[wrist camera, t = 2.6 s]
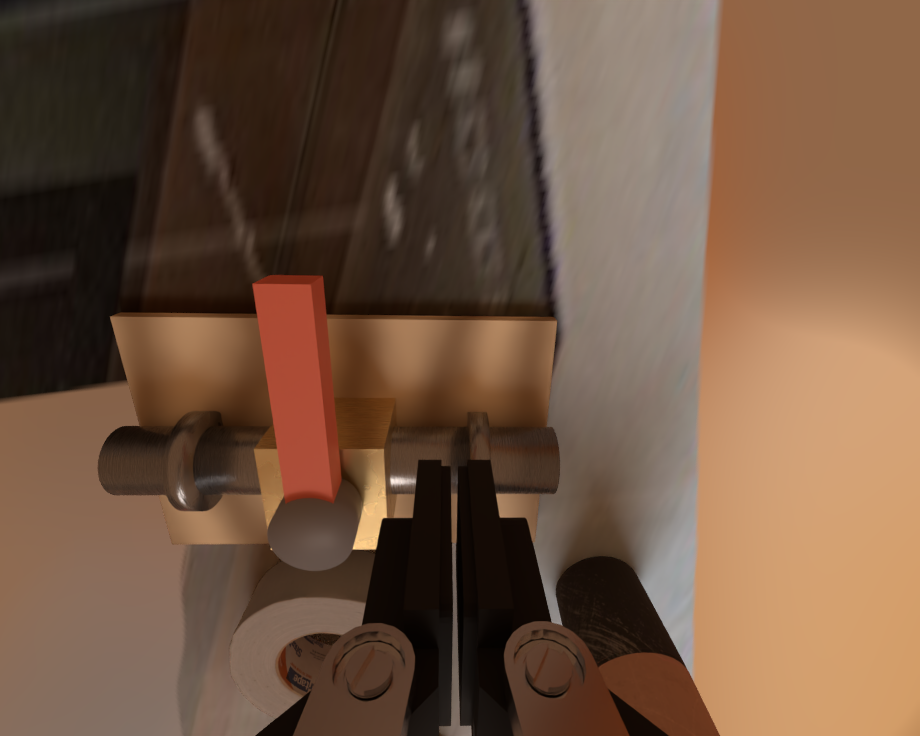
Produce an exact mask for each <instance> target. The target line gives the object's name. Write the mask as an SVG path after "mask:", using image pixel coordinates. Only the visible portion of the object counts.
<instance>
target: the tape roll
mask: <svg viewBox="0 0 920 736" xmlns="http://www.w3.org/2000/svg"><path fill="white" fill-rule="evenodd" d="M374 558H375V554H374V553H371V552H367V551H363V550H352V552H351V553H350V555H349V556H348V558H347V559H346V560H345V561H344V562H342V563H341V564H339V565H338V566H336V567H333V568H331V569H327V570H322V571H308V570H302V569H298V568H295V567H293V566H291V565H289V564H287V563H285V562H284V561H281V562H279V563H278V564H276V565H275V566H273V567H272V568H271V569H270V570H269V571H268V572H267V573H266V574H265V575H264V576H263V577H262V579H261V580H260V582H259V583H258V585H257V587H256V589H255V591H254V593H253V595H252V597H251V599H250V601H249V603H248V606H247V608H246V610H245V612H244V614H243V616H242V618H241V620H240V622H239V624H238V626H237V628H236V630H235V632H234V634H233V638H232V640H231V643H230V648H229V650H230V674H231V677H232V678H233V679H234V682H235V684H236V685H237V687H238V688H239V690H240V692H241V693H242V694H243V695H244V696H245V697H246V698H247V699H248V700H249V701H250V702H251V703H252V704H253V705H254V706H256V707H257V708H258V709H259V710H261V711H262V712H264V713H266V714H268V715H270V716H272V717H274V718H278V717H279V716H280V715H281V714H283V713H284V712H285V711H286V710H287V709H289V708H290V707H291V706H292V705H294V704H295V703H296V702H297V701H298V700H300V699H301V698H302V697H303V696H305V695H306V694H307V693H308V692H309V691H311V690H312V688H313V686H314V683H315V681H316V678H317V676H318V673H319V671H320V668H321V666H322V664H323V661H324V659H325V657H326V655H327V653H328V652H329V650H330V648H331V645H327V644H324V643H322V642H319V641H317V640H316V639H314V638H312V637H311V636H310V635H311V634H318V633H329V634H337V635H343V634H345V633H347V632H348V631H350V630H352V629H353V628H355V627H358V626H362V621H363V615H364V610H365V605H366V600H367V594H368V589H369V584H370V579H371V573H372V568H373V563H374Z"/></svg>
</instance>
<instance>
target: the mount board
mask: <svg viewBox="0 0 920 736" xmlns="http://www.w3.org/2000/svg"><path fill="white" fill-rule="evenodd" d="M110 318H111V322H112V326H113V329H114V333H115V337H116V340H117V344H118V348H119V351H120V355H121V359H122V362H123V366H124V370H125V373H126V377H127V381H128V384H129V388H130V392H131V395H132V399H133V403H134V406H135V410H136V414H137V417H138V421H139V425H140V426H175V425H176V423H177V422H178V421H179V420H180V419H181V417H182V416H184V415H185V414H187V413H189V412H191V411H217V412H220V413H221V418H222V423H223V426H271V425H272V423H273V417H272V411H271V404H270V397H269V391H268V384H267V377H266V371H265V364H264V357H263V351H262V344H261V337H260V331H259V324H258V317H257V314H219V313H122V312H121V313H118V314H115V315H113V316H110ZM327 326H328V337H329V348H330V359H331V370H332V381H333V391H334V398H396V417H397V427H467V413H468V412H487V415H488V420H489V427H547V417H548V407H549V397H550V387H551V377H552V367H553V357H554V347H555V337H556V327H557V320H556V319H555V318H554V317H509V316H412V315H327ZM496 497H497V503H498V510H499V516H500V518H517V517H525V518H526V519H527V522H528V525H529V529H530V533H531V538H532V542H535V536H536V526H537V516H538V506H539V497H540V494H496ZM159 498H160V502H161V505H162V509H163V513H164V516H165V520H166V523H167V527H168V531H169V535H170V538H171V542H172V544H269V542H268V538H267V530H268V529H267V523H266V517H265V512H264V506H263V500H262V495H223V496H222V498H221V499H220V501H219V502H218V503H217V504H216V505H215V506H214V507H213V508H212V509H210V510H208V511H179V510H177V509H175V508H174V507H173V506H172V505H171V504H170V502H169V500H168V498H167V496H166V495H159ZM414 498H415V494H397V500H396V506H395V512H394V518H413V508H414ZM451 516H452V543H456V538H457V494H451Z"/></svg>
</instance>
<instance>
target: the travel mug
mask: <svg viewBox="0 0 920 736" xmlns="http://www.w3.org/2000/svg"><path fill="white" fill-rule="evenodd" d="M556 597H557V603H558V607H559V612H560V616H561V621H562V625H563V626H564V627H565V628H567V629H569V630H571V631H572V632H574V633H575V634H576V635H577V636H578V637H579V638H580V639H581V640H582V641H583V642H584V643H585V644H586V646H587V647H588V649H589V651H590V652H591V654H592V656H593V658H594V660H595V662H596V664H597V666H598V669H599V671H600V673H601V675H602V677H603V679H604V682H605V684H606V686H607V688H608V689H609V690H610V691H612V692H613V693H614V694H616V695H617V696H618V697H619V698H621V699H622V700H623V701H625V702H626V703H627V704H629V705H630V706H631V707H632V708H634V709H635V710H636V711H638V712H639V713H640V714H641V715H643V716H644V717H645V718H647V719H648V720H649V721H651V722H652V723H653V724H654V725H656V726H657V727H658V728H660V729H661V730H662V731H664V732H665V733H666V734H667V735H669V736H720V735H719V733H718V731H717V729H716V727H715V725H714V723H713V721H712V719H711V716H710V714H709V712H708V710H707V708H706V706H705V704H704V702H703V700H702V698H701V696H700V694H699V692H698V690H697V688H696V686H695V684H694V682H693V680H692V678H691V676H690V674H689V672H688V670H687V668H686V666H685V664H684V662H683V660H682V658H681V657H680V655H679V653H678V651H677V649H676V647H675V645H674V643H673V642H672V640H671V638H670V636H669V634H668V632H667V630H666V629H665V627H664V625H663V623H662V621H661V619H660V617H659V616H658V614H657V612H656V610H655V608H654V606H653V604H652V602H651V601H650V599H649V597H648V595H647V593H646V591H645V589H644V588H643V586H642V584H641V582H640V580H639V579H638V577H637V575H636V574H635V572H634V571H633V569H632V568H631V567H630V566H629V565H627V564H626V563H625V562H623V561H621V560H618V559H615V558H611V557H594V558H589V559H585V560H583V561H580V562H578V563H576V564H574V565H573V566H571V567H570V568H569V569H567V570H566V571H565V572H564V574H563V575H562V576H561V578H560V579H559V581H558V584H557V588H556Z"/></svg>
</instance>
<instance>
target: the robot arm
mask: <svg viewBox="0 0 920 736" xmlns="http://www.w3.org/2000/svg"><path fill="white" fill-rule="evenodd" d="M456 582H457V622H458V661H459V701H460V726H471V729H472V736H669V735H667V734H666V733H665V732H664V731H662V730H661V729H660V728H658V727H657V726H656V725H654V724H653V723H652V722H651V721H649V720H648V719H647V718H645V717H644V716H643V715H641V714H640V713H639V712H638V711H636V710H635V709H634V708H632V707H631V706H630V705H629V704H627V703H626V702H625V701H623V700H622V699H621V698H619V697H618V696H617V695H616V694H614V693H613V692H612V691H610V690H609V689H608V688H607V686H606V684H605V682H604V679H603V677H602V675H601V673H600V671H599V669H598V666H597V664H596V662H595V660H594V658H593V656H592V654H591V652H590V651H589V649H588V647H587V646H586V644H585V643H584V642H583V641H582V640H581V639H580V638H579V637H578V636H577V635H576V634H575V633H574V632H572V631H571V630H569V629H567V628H565V627H564V626H562V625H559V624H555V623H552V622H551V618H550V613H549V609H548V605H547V601H546V597H545V592H544V588H543V584H542V580H541V575H540V571H539V567H538V563H537V559H536V554H535V550H534V546H533V542H532V538H531V533H530V529H529V525H528V522H527V519H526V518H525V517H517V518H500V516H499V510H498V503H497V497H496V491H495V484H494V478H493V472H492V465H491V460H467V466H458V489H457V538H456ZM452 631H453V581H452V516H451V466H442V460H418V468H417V478H416V488H415V498H414V508H413V518H383V519H382V522H381V526H380V531H379V537H378V542H377V547H376V552H375V558H374V563H373V568H372V573H371V579H370V584H369V589H368V594H367V600H366V605H365V610H364V615H363V621H362V626H358V627H355V628H353V629H352V630H350V631H348V632H347V633H345V634H343V635H342V636H341V637H340V638H339V639H338V640H337V641H336V642H335V643H334V644H333V645H332V646H331V648H330V650H329V652H328V653H327V655H326V657H325V659H324V661H323V664H322V666H321V668H320V671H319V673H318V676H317V678H316V681H315V683H314V686H313V688H312V690H311V691H309V692H308V693H307V694H306V695H305V696H303V697H302V698H301V699H300V700H298V701H297V702H296V703H295V704H294V705H292V706H291V707H290V708H289V709H287V710H286V711H285V712H284V713H283V714H281V715H280V716H279V717H278V718H276V719H275V720H274V721H273V722H272V723H270V724H269V725H268V726H267V727H265V728H264V729H263V730H262V731H260V732H259V733H258V734H257V735H256V736H439V726H451V687H452Z"/></svg>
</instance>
